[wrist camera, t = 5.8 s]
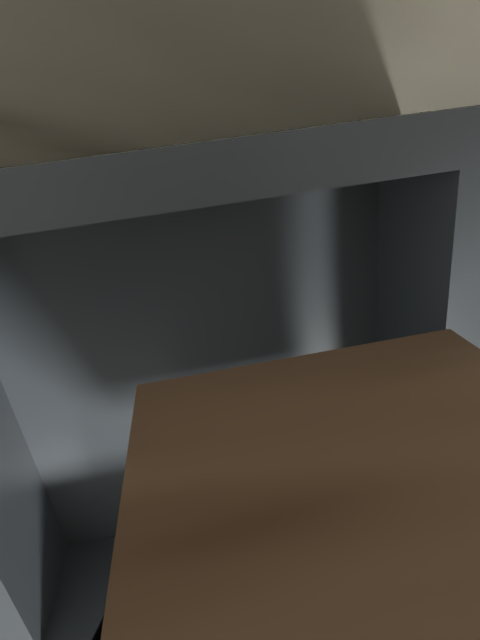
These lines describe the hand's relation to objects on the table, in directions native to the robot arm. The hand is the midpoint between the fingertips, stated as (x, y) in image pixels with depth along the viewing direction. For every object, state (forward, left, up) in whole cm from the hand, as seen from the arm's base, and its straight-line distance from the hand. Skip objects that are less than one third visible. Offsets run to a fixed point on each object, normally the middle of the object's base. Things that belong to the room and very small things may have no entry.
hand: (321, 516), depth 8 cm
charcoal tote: (+1, +2, -6) cm, 6 cm away
